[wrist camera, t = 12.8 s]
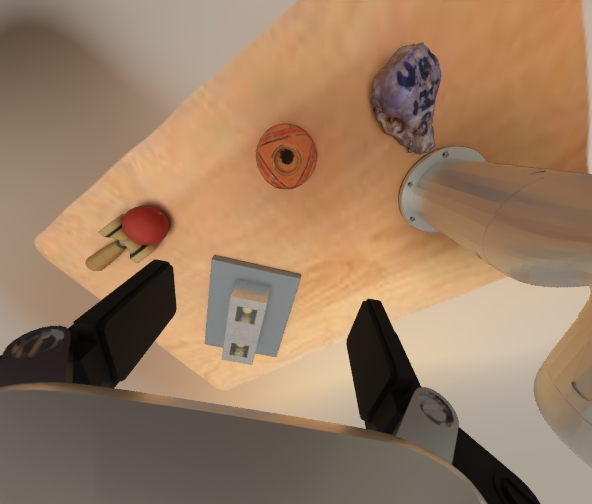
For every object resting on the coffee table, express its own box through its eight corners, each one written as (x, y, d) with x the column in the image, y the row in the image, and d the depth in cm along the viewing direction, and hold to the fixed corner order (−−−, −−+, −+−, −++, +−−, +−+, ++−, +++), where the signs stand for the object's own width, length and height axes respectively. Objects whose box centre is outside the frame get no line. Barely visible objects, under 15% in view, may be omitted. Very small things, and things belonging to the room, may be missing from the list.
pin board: (300, 274, 41) (300, 290, 36) (276, 351, 51) (274, 371, 46) (214, 255, 39) (203, 269, 35) (207, 338, 49) (198, 358, 45)
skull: (439, 141, 31) (469, 141, 25) (385, 167, 32) (403, 173, 27) (420, 40, 26) (452, 13, 20) (358, 77, 27) (373, 61, 22)
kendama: (129, 273, 43) (187, 233, 36) (95, 289, 38) (156, 247, 31) (102, 240, 42) (158, 192, 35) (62, 252, 36) (119, 198, 29)
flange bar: (256, 343, 47) (252, 364, 43) (229, 338, 47) (221, 359, 42) (270, 285, 40) (267, 303, 36) (238, 278, 40) (230, 296, 35)
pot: (268, 110, 29) (275, 109, 23) (317, 141, 32) (333, 146, 26) (246, 168, 32) (247, 179, 26) (292, 190, 35) (302, 204, 30)
